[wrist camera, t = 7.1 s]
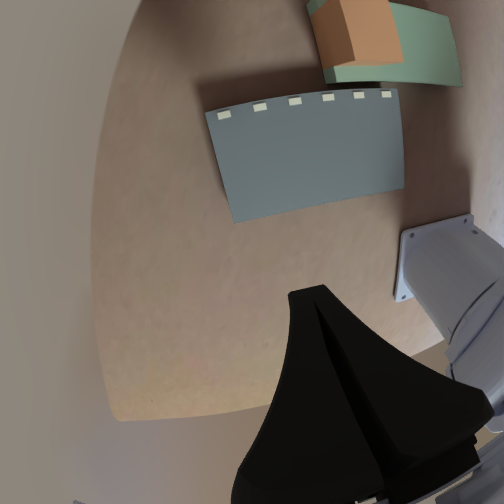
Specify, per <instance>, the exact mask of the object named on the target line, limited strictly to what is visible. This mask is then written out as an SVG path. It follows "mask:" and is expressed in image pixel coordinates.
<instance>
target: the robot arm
mask: <svg viewBox="0 0 504 504" xmlns="http://www.w3.org/2000/svg"><path fill="white" fill-rule="evenodd" d="M473 222H474V215H472V214H471V213H469V214H466V215H462V216H458V217H454V218H450V219H446V220H442V221H438V222H434V223H431V224H427V225H423V226H419V227H415V228H411V229H407V230H404V231H403V232H402V234H401V242H400V254H399V264H398V273H397V281H396V288H395V295H394V300H395V301H396V302H401V301H404V300H407V299H410V298H412V297H415V298H416V299H417V301H418V302H419V303H420V305H421V306H422V307H423V309H424V310H425V312H426V313H427V314H428V316H429V317H430V319H431V320H432V321H433V323H434V324H435V326H436V327H437V328H438V330H439V331H440V333H441V334H442V336H443V337H444V339H445V340H446V342H447V343H448V345H449V347H448V349H447V350H446V351H445V355H446V356H447V358H448V359H449V361H450V362H449V364H448V365H447V367H446V376H444V375H442V374H440V373H437V372H436V371H434V370H432V369H430V368H428V367H426V366H424V365H422V364H421V363H419V362H417V361H415V360H414V359H412V358H410V357H409V356H407V355H406V354H404V353H402V352H401V351H399V350H398V349H396V348H395V347H394V346H392V345H391V344H389V343H388V342H387V341H385V340H384V339H383V338H381V337H380V336H379V335H377V334H376V333H375V332H374V331H372V330H371V329H370V328H369V327H368V326H366V325H365V324H364V323H363V322H362V321H361V320H360V319H359V318H357V317H356V316H355V315H354V314H353V313H352V312H351V311H350V310H349V309H348V308H347V307H346V306H345V305H344V304H343V303H342V302H341V301H340V300H339V299H338V298H337V297H336V296H335V295H334V294H333V293H332V292H331V291H330V290H329V289H328V288H327V287H326V286H325V285H324V284H322V285H318V286H314V287H309V288H305V289H300V290H296V291H291V292H290V293H289V294H288V300H289V307H290V325H289V336H288V343H287V348H286V354H285V359H284V363H283V368H282V372H281V375H280V379H279V382H278V385H277V388H276V391H275V394H274V397H273V400H272V403H271V406H270V408H269V410H268V413H267V415H266V417H265V419H264V422H263V424H262V426H261V428H260V431H259V432H258V435H257V437H256V439H255V440H254V442H253V444H252V446H251V448H250V450H249V451H248V453H247V455H246V456H245V458H244V460H243V461H242V463H241V465H240V467H239V468H238V471H237V475H236V478H235V481H234V484H233V489H232V494H231V504H355V501H358V503H361V502H364V501H368V500H370V499H373V498H376V500H377V502H376V503H373V504H416V503H418V502H420V501H422V500H424V499H426V498H428V497H430V496H432V495H434V494H436V493H437V492H439V491H441V490H443V489H445V488H446V487H448V486H450V485H451V484H453V483H455V482H456V481H458V480H459V479H461V478H463V477H464V476H466V475H467V474H469V473H471V472H472V471H473V470H474V471H473V474H472V476H471V477H470V478H468V479H466V480H464V481H462V482H460V483H458V484H457V485H455V486H453V487H451V488H450V489H448V490H447V491H445V492H444V493H442V494H441V495H439V496H437V497H436V499H435V501H436V504H504V248H503V247H502V246H501V245H500V244H499V243H497V242H496V241H495V240H494V239H492V238H491V237H490V236H488V235H487V234H486V233H485V232H483V231H482V230H481V229H479V228H478V227H477V226H475V225H474V224H473ZM411 233H412V235H411V236H410V234H411ZM483 426H485V427H486V428H488V429H489V431H490V432H492V433H496V432H501V433H500V434H499V435H498V436H496V437H495V438H494V439H493V440H491V441H490V442H489V443H487V444H486V445H485V446H483V447H482V448H480V449H479V450H477V451H476V449H475V447H474V445H475V444H476V443H477V439H476V437H475V435H474V434H475V433H476V432H477V431H478V430H480V429H481V428H482V427H483ZM73 504H84V503H81V502H79V501H76V500H74V501H73Z"/></svg>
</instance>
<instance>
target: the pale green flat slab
mask: <svg viewBox="0 0 504 504" xmlns="http://www.w3.org/2000/svg"><path fill="white" fill-rule="evenodd" d="M306 7H307V10H308V14H309V17H310V21H311V24H312V28H313V32H314V35H315V39H316V43H317V47H318V51H319V56H320V60H321V64H322V69H323V73H324V78H325V83H326V84H331V83H348V82H407V83H423V84H434V85H443V86H453V87H463V86H462V78H461V72H460V66H459V60H458V55H457V50H456V46H455V41H454V37H453V33H452V29H451V25H450V22H449V18H448V17H447V16H444V15H441V14H437V13H434V12H431V11H427V10H423V9H419V8H415V7H411V6H407V5H402V4H397V3H391V2H389V1H388V0H310V1H309V2H308V3H307V5H306Z"/></svg>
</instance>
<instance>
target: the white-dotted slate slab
mask: <svg viewBox="0 0 504 504" xmlns="http://www.w3.org/2000/svg"><path fill="white" fill-rule="evenodd" d="M205 115H206V119H207V123H208V127H209V131H210V135H211V138H212V142H213V146H214V150H215V154H216V158H217V161H218V165H219V169H220V173H221V176H222V180H223V184H224V188H225V191H226V195H227V199H228V203H229V206H230V210H231V214H232V217H233V221H234V223H239V222H243V221H247V220H252V219H256V218H260V217H265V216H269V215H274V214H278V213H283V212H287V211H292V210H297V209H301V208H306V207H311V206H316V205H320V204H325V203H330V202H335V201H340V200H345V199H350V198H355V197H361V196H366V195H371V194H376V193H382V192H387V191H393V190H398V189H404V150H403V134H402V123H401V113H400V105H399V97H398V90H397V88H370V89H346V90H332V91H321V92H312V93H303V94H295V95H288V96H282V97H276V98H270V99H264V100H259V101H253V102H248V103H244V104H239V105H234V106H230V107H226V108H222V109H218V110H214V111H210V112H206V113H205Z"/></svg>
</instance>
